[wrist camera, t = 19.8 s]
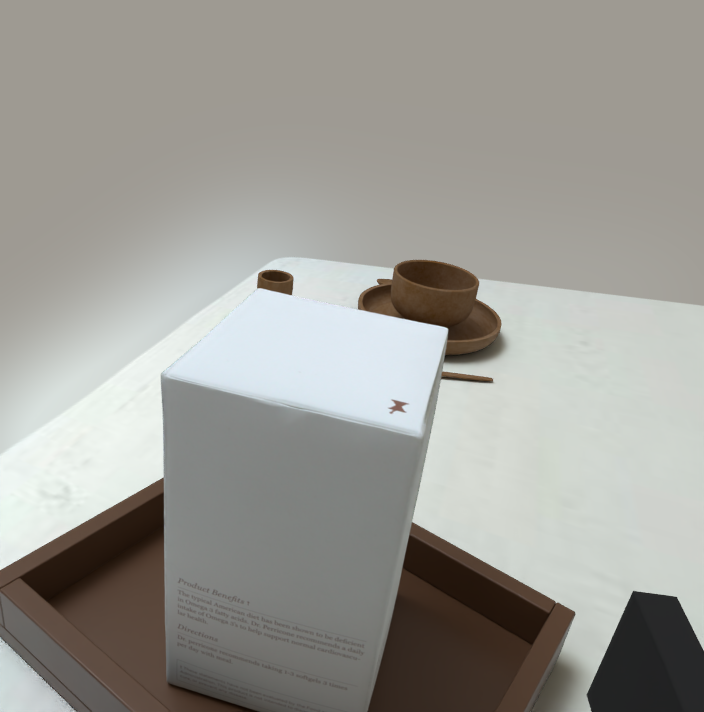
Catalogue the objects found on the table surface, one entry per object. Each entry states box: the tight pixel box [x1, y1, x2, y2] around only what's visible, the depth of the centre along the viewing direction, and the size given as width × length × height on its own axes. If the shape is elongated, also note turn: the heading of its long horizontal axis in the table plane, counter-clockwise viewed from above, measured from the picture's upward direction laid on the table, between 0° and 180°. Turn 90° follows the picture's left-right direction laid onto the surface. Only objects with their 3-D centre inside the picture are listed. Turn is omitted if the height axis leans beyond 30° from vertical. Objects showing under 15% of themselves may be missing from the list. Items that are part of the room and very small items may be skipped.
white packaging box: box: [161, 288, 448, 712], centre depth 23 cm, size 7×7×13 cm
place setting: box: [257, 260, 501, 381], centre depth 54 cm, size 18×20×6 cm
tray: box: [0, 478, 575, 712], centre depth 26 cm, size 18×14×3 cm
